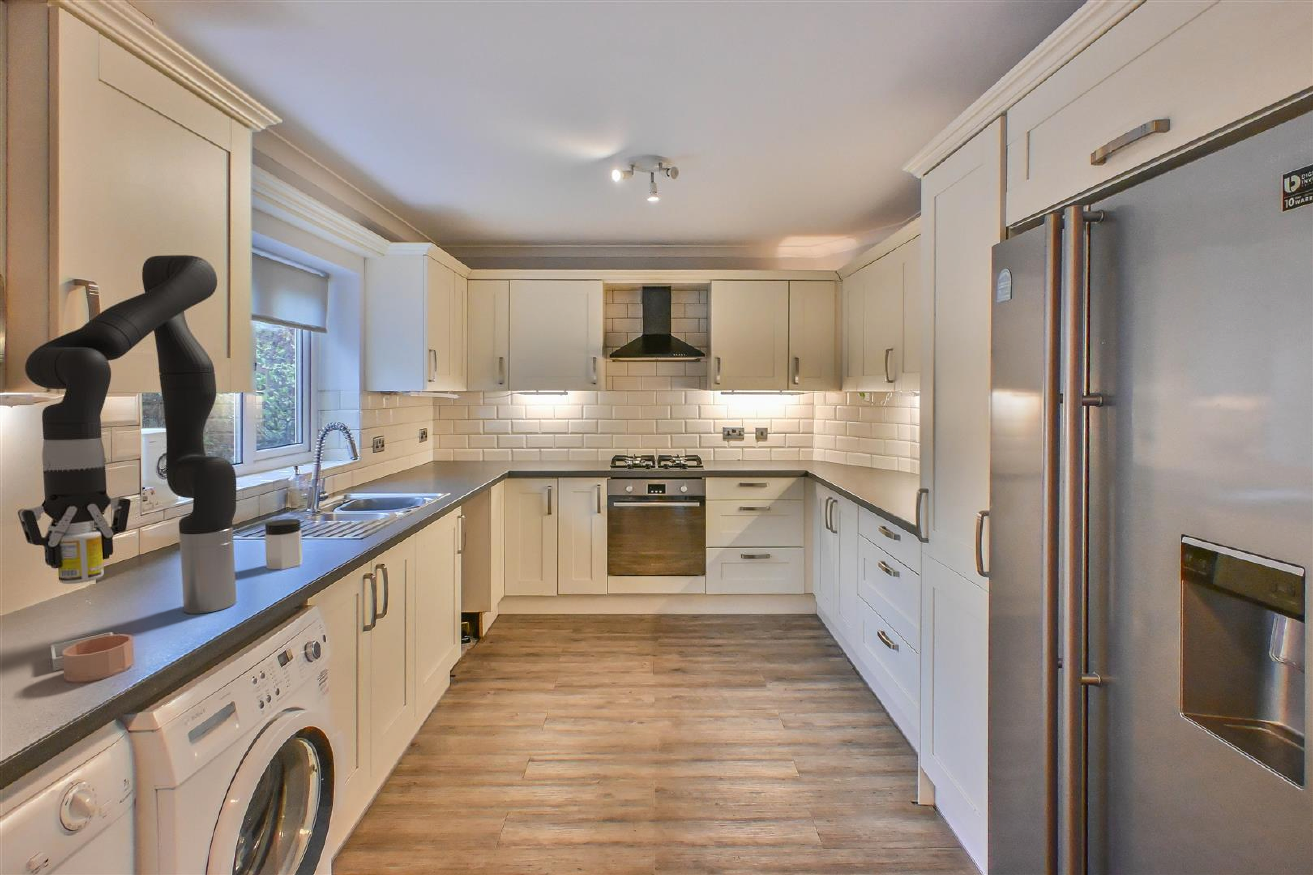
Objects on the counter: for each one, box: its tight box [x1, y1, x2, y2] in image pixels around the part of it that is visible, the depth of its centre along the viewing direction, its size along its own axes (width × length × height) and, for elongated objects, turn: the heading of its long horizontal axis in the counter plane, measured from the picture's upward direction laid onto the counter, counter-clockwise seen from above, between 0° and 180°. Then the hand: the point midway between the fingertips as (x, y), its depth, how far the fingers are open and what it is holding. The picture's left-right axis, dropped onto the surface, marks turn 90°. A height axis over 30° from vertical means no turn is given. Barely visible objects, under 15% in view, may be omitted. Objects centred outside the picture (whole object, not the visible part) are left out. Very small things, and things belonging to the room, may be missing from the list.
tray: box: [50, 631, 114, 672], centre depth 104 cm, size 8×8×2 cm
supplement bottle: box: [57, 521, 105, 585], centre depth 100 cm, size 6×6×10 cm
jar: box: [264, 518, 303, 571], centre depth 159 cm, size 9×8×12 cm
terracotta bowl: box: [62, 633, 135, 684], centre depth 98 cm, size 8×8×4 cm
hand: (80, 562), depth 100 cm, fingers closed on supplement bottle, 5 cm apart
